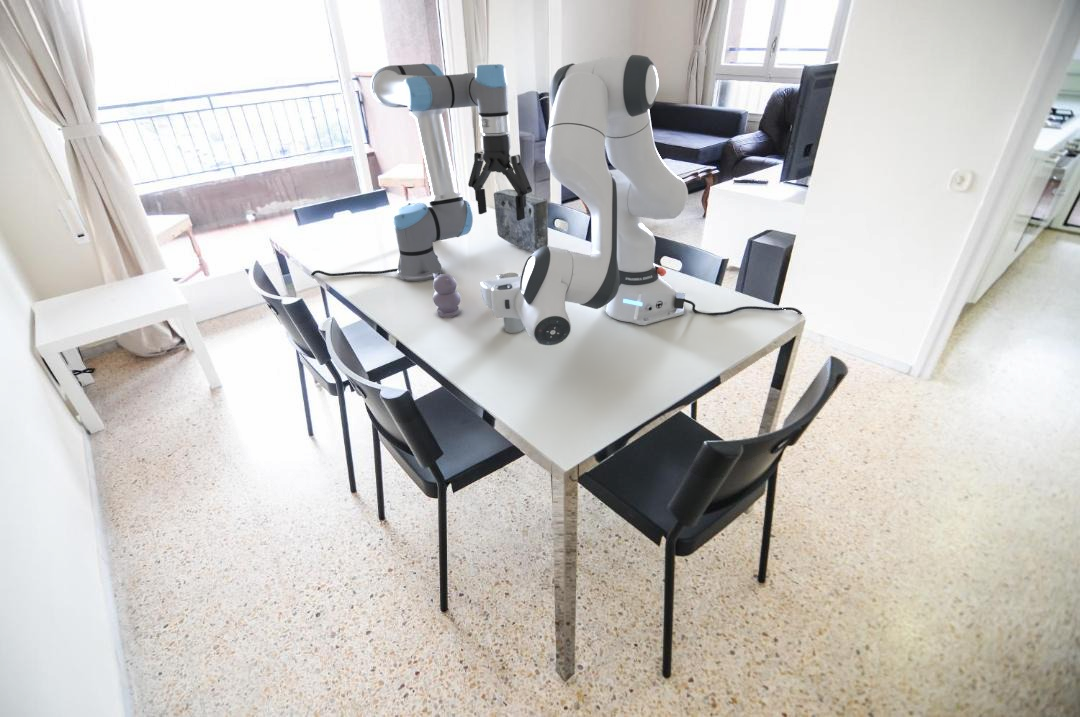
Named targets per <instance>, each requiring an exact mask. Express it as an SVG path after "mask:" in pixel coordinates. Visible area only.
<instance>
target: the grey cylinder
mask: <svg viewBox="0 0 1080 717" xmlns="http://www.w3.org/2000/svg"><path fill="white" fill-rule="evenodd" d="M502 274H503V276H504V278H510V277H517V276H520V275H519V274H518V273H517V272H506V273H502ZM502 318H503V328H504V331H505V333H509V334H518V333H521V332H522V331H524V329H525V328H524V326H523V324H522V321H521V319H517V318H508V317H502Z"/></svg>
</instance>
